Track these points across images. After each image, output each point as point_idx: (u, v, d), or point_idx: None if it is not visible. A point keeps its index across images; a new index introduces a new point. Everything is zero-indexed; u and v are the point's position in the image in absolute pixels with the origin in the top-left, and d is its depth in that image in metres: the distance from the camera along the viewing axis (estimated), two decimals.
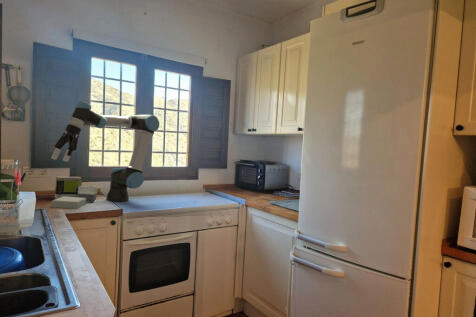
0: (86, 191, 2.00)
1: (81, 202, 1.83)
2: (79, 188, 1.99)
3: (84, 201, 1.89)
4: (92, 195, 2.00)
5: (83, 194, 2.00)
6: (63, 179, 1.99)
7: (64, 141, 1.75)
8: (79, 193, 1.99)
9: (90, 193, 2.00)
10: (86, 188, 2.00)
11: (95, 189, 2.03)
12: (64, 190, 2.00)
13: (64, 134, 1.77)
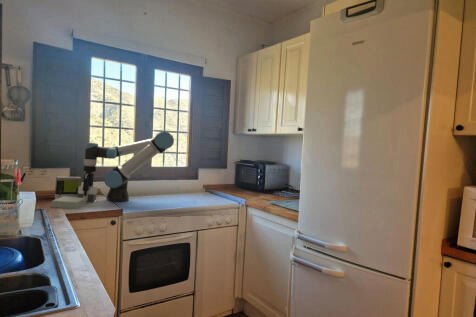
0: None
1: (81, 202, 1.83)
2: (79, 188, 1.99)
3: (84, 201, 1.89)
4: (92, 195, 2.00)
5: None
6: (63, 179, 1.99)
7: None
8: (79, 193, 1.99)
9: (90, 193, 2.00)
10: None
11: (95, 189, 2.03)
12: (64, 190, 2.00)
13: None
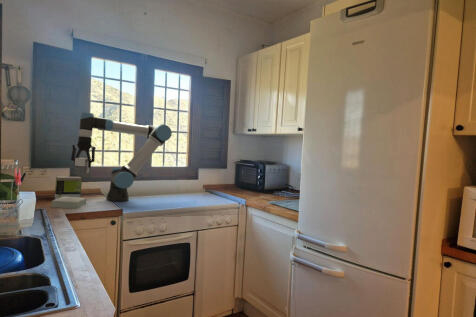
0: None
1: (81, 202, 1.83)
2: None
3: (84, 201, 1.89)
4: None
5: None
6: (63, 179, 1.99)
7: None
8: None
9: None
10: None
11: (79, 160, 1.89)
12: (64, 190, 2.00)
13: None
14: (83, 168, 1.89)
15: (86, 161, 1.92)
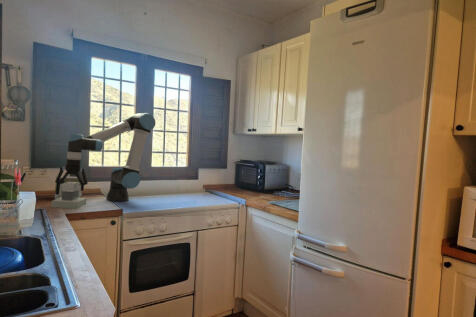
0: None
1: (81, 202, 1.83)
2: None
3: (84, 201, 1.89)
4: None
5: None
6: None
7: None
8: None
9: None
10: None
11: (67, 186, 1.78)
12: None
13: None
14: (71, 194, 1.79)
15: (75, 186, 1.81)
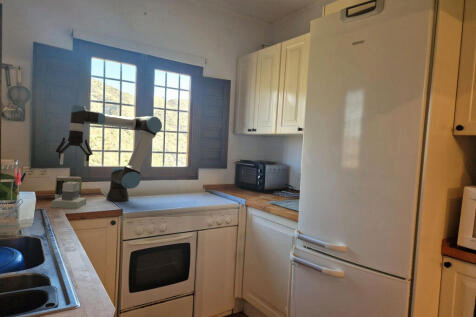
0: None
1: (81, 202, 1.83)
2: None
3: (84, 201, 1.89)
4: None
5: None
6: (63, 179, 1.99)
7: None
8: None
9: None
10: None
11: (67, 186, 1.78)
12: None
13: None
14: (71, 194, 1.79)
15: (75, 186, 1.81)
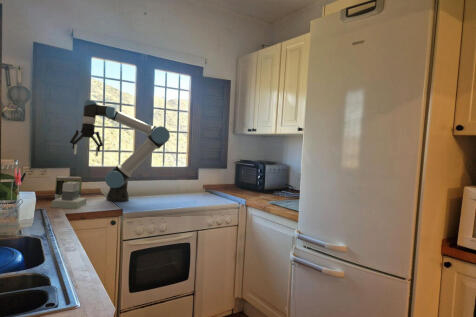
0: None
1: (81, 202, 1.83)
2: None
3: (84, 201, 1.89)
4: None
5: None
6: (63, 179, 1.99)
7: None
8: None
9: None
10: None
11: (67, 186, 1.78)
12: None
13: None
14: (71, 194, 1.79)
15: (75, 186, 1.81)
